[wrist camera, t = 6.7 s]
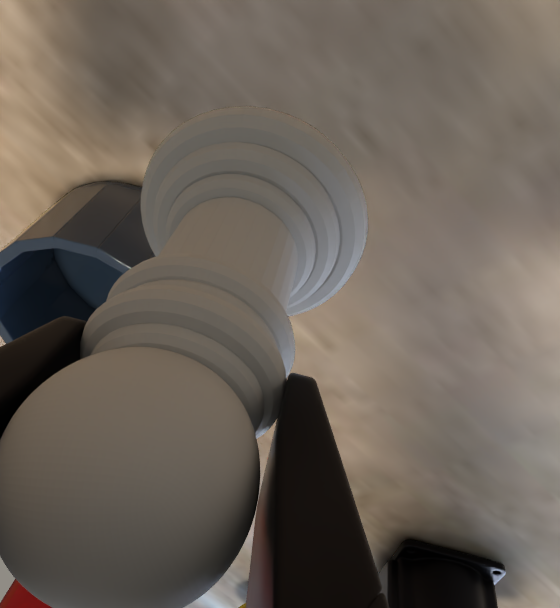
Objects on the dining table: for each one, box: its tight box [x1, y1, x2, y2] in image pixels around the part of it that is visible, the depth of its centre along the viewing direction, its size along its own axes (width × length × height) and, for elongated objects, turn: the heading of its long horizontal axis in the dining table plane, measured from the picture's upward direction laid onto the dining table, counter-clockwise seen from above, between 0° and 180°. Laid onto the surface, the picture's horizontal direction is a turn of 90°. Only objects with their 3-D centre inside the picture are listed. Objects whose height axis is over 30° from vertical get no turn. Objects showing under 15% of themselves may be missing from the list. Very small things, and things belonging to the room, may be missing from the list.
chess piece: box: [0, 106, 368, 608], centre depth 9 cm, size 5×5×9 cm
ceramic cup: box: [0, 182, 156, 344], centre depth 21 cm, size 8×8×5 cm
